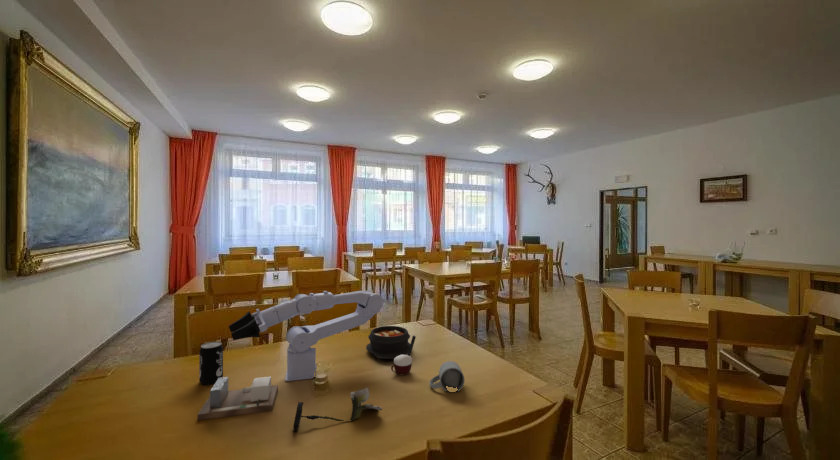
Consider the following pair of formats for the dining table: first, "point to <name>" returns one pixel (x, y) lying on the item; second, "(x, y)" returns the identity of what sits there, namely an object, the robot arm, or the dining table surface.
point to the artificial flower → (356, 399)
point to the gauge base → (238, 405)
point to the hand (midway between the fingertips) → (230, 332)
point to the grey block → (219, 393)
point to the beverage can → (210, 363)
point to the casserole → (388, 342)
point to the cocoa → (404, 361)
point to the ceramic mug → (448, 376)
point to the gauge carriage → (259, 389)
